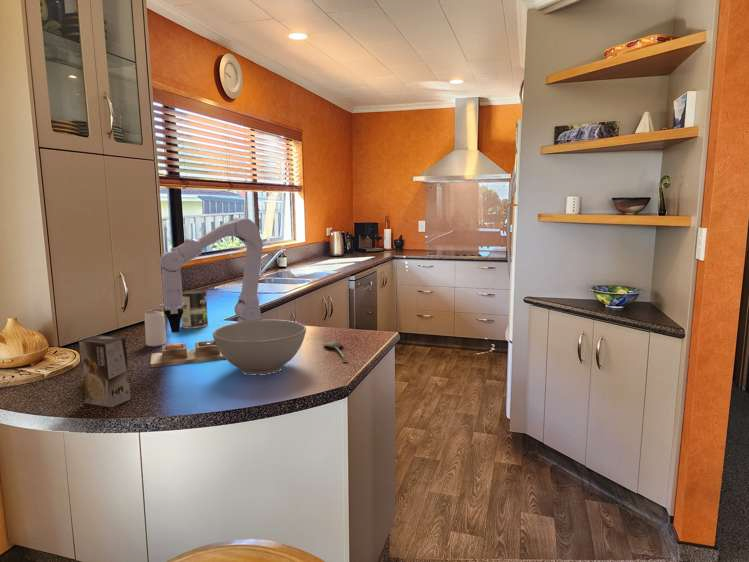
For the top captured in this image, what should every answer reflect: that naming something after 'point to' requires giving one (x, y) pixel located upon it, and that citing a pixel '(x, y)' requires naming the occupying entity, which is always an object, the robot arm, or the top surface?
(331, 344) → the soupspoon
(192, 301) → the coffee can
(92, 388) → the coffee box
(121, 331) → the top surface
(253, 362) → the decorative bowl
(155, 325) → the can
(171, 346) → the orange block
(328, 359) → the top surface
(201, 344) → the grey plunger
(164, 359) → the console
